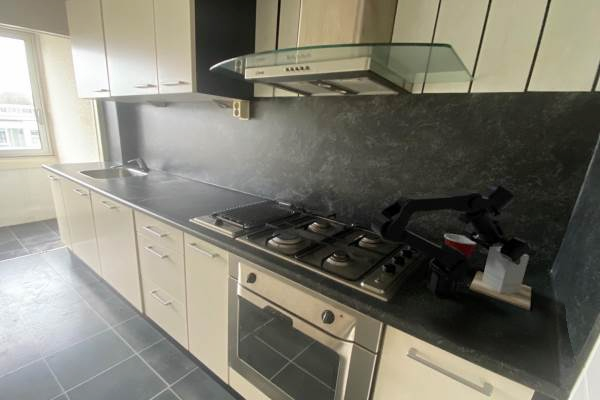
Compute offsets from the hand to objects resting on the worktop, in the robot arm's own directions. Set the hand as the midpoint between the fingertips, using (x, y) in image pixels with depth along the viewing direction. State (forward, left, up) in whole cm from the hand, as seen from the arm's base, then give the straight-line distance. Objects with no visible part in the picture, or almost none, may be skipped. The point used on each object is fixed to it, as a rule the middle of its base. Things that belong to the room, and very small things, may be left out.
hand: (505, 256), depth 85 cm
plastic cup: (-6, +14, -12) cm, 19 cm away
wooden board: (+1, 0, -11) cm, 12 cm away
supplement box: (+1, 0, -11) cm, 11 cm away
